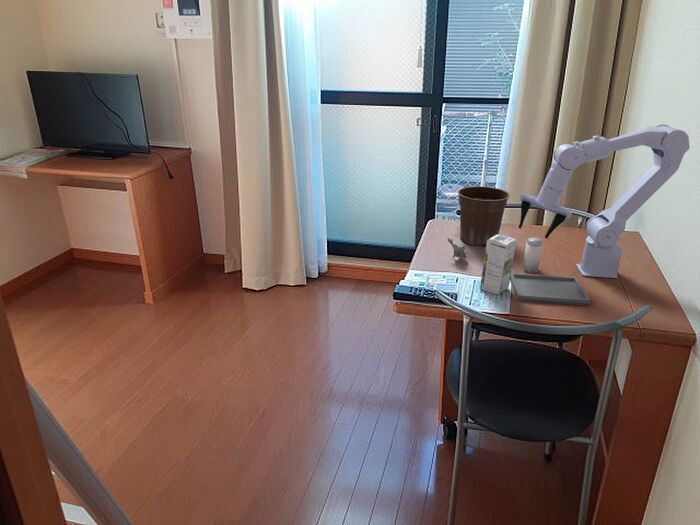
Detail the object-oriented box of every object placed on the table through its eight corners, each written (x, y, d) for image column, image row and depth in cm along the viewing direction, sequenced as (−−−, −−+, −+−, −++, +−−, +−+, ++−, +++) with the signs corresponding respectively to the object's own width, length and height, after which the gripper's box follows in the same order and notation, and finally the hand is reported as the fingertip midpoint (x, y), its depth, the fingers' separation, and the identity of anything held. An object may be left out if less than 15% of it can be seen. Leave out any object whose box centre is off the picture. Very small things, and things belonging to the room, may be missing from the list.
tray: (575, 281, 150) (576, 277, 149) (589, 305, 137) (590, 300, 137) (509, 277, 152) (509, 272, 151) (517, 300, 139) (517, 295, 139)
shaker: (536, 266, 159) (541, 237, 156) (539, 272, 155) (544, 243, 152) (521, 265, 160) (525, 236, 156) (523, 271, 156) (528, 242, 152)
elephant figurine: (480, 259, 164) (474, 259, 156) (464, 270, 166) (458, 271, 158) (460, 233, 167) (454, 232, 159) (445, 245, 169) (438, 244, 160)
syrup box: (489, 282, 149) (495, 233, 143) (509, 288, 146) (516, 238, 140) (479, 289, 145) (485, 238, 139) (500, 295, 142) (507, 244, 136)
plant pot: (448, 243, 175) (452, 196, 169) (458, 228, 189) (463, 183, 182) (499, 252, 169) (505, 202, 163) (506, 235, 183) (512, 189, 177)
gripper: (526, 181, 146) (507, 226, 151) (579, 200, 143) (557, 245, 148) (528, 176, 152) (509, 220, 158) (579, 195, 149) (557, 238, 154)
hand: (532, 232), depth 153 cm, fingers open, 7 cm apart
